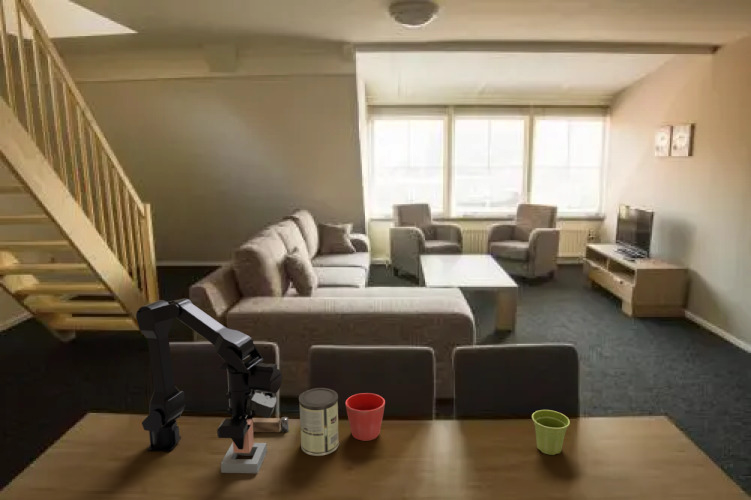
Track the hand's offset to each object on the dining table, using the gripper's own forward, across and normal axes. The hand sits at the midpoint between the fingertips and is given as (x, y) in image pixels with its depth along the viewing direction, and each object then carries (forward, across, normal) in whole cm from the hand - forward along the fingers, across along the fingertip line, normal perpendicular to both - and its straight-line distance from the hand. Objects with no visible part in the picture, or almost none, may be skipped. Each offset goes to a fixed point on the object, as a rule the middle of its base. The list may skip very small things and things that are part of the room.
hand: (243, 444), depth 123 cm
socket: (+5, 0, 0) cm, 5 cm away
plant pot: (+5, +8, -79) cm, 80 cm away
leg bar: (+5, +15, 0) cm, 16 cm away
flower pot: (+5, +14, -30) cm, 34 cm away
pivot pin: (+5, +15, -7) cm, 17 cm away
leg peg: (+1, 0, 0) cm, 1 cm away
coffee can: (+5, +8, -18) cm, 20 cm away
